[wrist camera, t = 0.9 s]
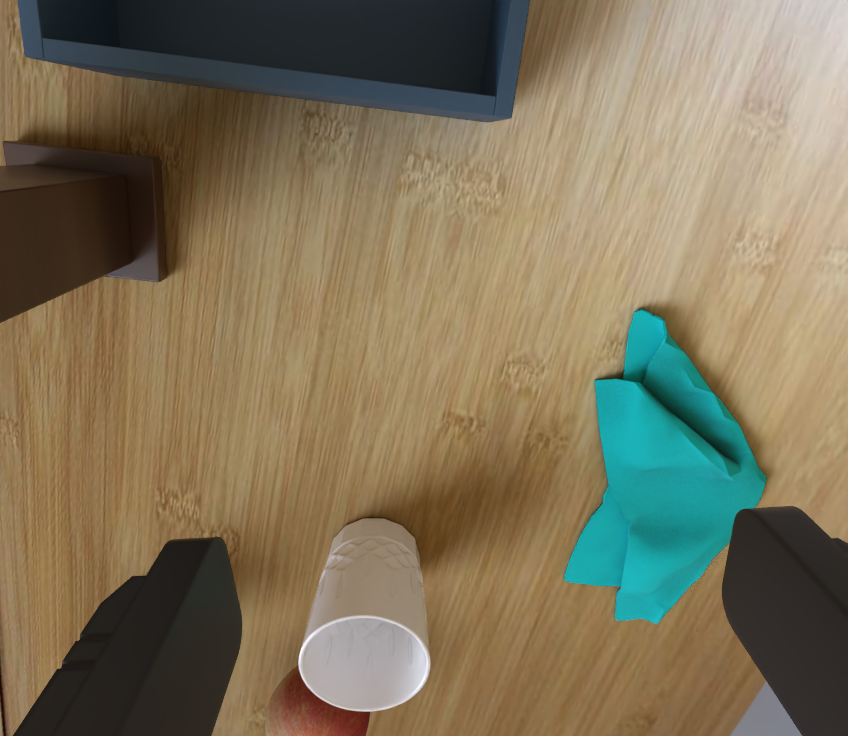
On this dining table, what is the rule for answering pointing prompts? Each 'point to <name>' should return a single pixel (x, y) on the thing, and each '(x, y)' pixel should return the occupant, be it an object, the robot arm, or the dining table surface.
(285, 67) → the bin
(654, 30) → the dining table surface
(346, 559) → the white cup
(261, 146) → the dining table surface
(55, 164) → the stand
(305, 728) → the apple
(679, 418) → the cloth
